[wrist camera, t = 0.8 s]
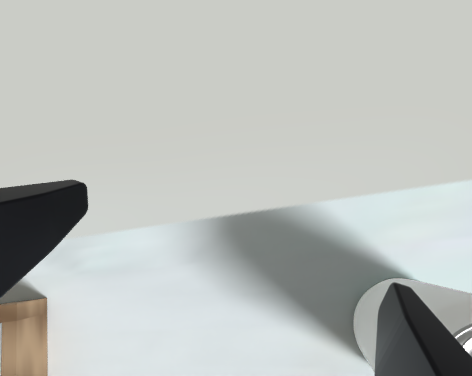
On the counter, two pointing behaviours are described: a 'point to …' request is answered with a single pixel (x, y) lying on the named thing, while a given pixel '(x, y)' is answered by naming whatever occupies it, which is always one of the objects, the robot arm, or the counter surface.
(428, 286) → the can
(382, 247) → the counter surface
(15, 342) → the wooden frame
